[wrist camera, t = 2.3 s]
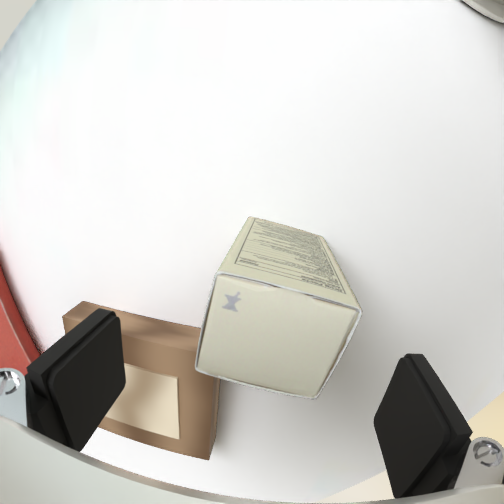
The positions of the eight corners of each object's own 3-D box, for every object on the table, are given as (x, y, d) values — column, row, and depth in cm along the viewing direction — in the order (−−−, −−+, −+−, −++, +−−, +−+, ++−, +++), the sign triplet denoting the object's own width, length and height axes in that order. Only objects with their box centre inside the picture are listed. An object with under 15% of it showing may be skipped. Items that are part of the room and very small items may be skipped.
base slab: (224, 332, 22) (214, 357, 18) (215, 436, 25) (208, 461, 22) (83, 300, 22) (60, 317, 19) (101, 404, 26) (87, 424, 23)
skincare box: (230, 277, 20) (185, 369, 11) (248, 213, 19) (209, 262, 9) (306, 300, 20) (317, 405, 11) (328, 238, 19) (367, 308, 9)
